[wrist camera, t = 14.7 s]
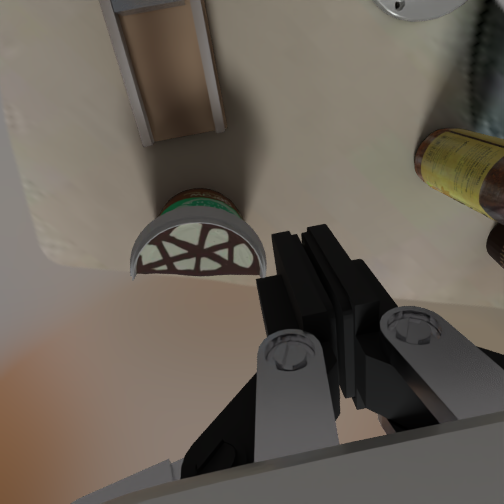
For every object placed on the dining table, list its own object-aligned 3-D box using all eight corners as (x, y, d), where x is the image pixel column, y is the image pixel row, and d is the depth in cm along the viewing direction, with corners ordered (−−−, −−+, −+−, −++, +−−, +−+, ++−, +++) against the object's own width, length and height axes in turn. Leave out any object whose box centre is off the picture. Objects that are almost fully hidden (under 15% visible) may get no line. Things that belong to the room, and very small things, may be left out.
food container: (261, 180, 38) (277, 218, 29) (256, 233, 41) (269, 281, 32) (139, 174, 36) (119, 212, 28) (143, 229, 39) (125, 280, 30)
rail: (182, -114, 27) (180, -132, 24) (226, 125, 35) (228, 131, 32) (74, -95, 26) (60, -111, 24) (144, 140, 35) (140, 147, 32)
